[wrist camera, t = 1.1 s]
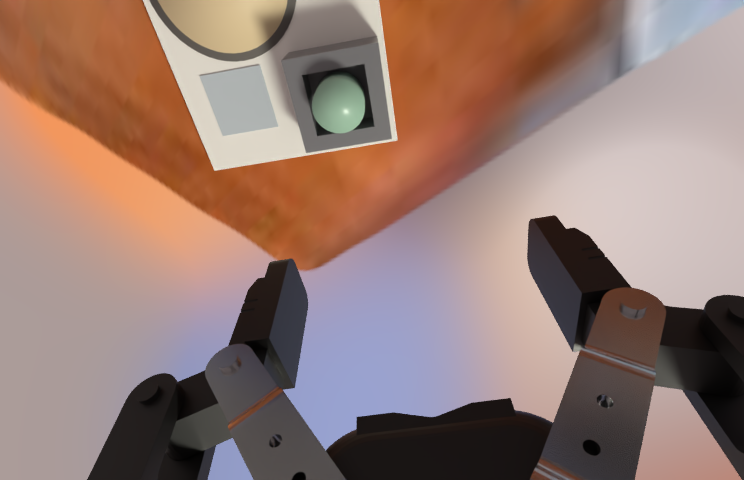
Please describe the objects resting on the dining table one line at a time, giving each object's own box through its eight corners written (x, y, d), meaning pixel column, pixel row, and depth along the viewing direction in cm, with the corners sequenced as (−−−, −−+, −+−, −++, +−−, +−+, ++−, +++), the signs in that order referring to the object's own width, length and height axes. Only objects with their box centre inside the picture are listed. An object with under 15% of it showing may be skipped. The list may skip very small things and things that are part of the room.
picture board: (106, -103, 26) (97, -106, 25) (357, -160, 25) (357, -165, 24) (217, 166, 37) (214, 171, 36) (396, 136, 36) (397, 141, 35)
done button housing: (288, 52, 31) (280, 60, 28) (377, 35, 30) (378, 42, 27) (311, 138, 35) (306, 153, 32) (389, 124, 34) (392, 138, 31)
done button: (310, 76, 30) (305, 84, 27) (360, 67, 29) (359, 75, 27) (322, 125, 32) (318, 137, 30) (368, 117, 32) (369, 128, 29)
